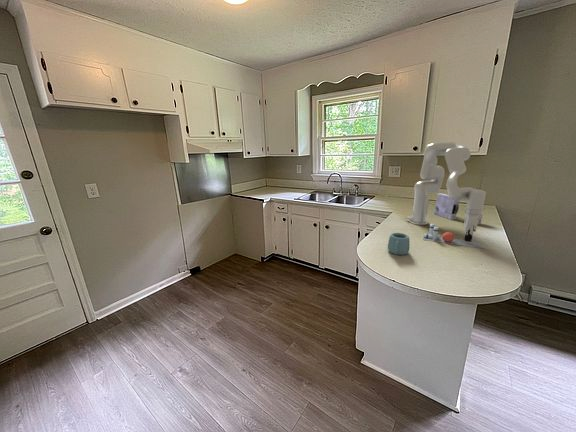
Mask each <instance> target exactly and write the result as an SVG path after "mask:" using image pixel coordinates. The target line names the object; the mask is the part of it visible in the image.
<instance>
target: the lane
mask: <svg viewBox="0 0 576 432" xmlns="http://www.w3.org/2000/svg"><path fill="white" fill-rule="evenodd" d="M422 240H424V241H429V242H435V243H436V242H437V243H443V244H451V245H457V246H463V247H469V248H475V249H477V248H478V249H484V246H483V243H482V242H481V241H474V240H472V241H471V242H467V241H465V240H464V239H459V238H454V240H453V241H451V242H446V241H444V240H443V238H442V236H440V239H437V241H433V240H432V239H431V238H424V236H423V238H422Z"/></svg>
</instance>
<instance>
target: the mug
mask: <svg viewBox="0 0 576 432" xmlns="http://www.w3.org/2000/svg"><path fill="white" fill-rule="evenodd" d="M387 250H388V251H389V252H390V253H391V254H394V255H396V256H397V255H398V256H404V255H407V254H409V253H410V252H409V251H410V237H409V235H407V234H405V233H401V232H394V233H393V232H392V233H391V234H390V235H389V237H388V242H387Z"/></svg>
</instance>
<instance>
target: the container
mask: <svg viewBox="0 0 576 432" xmlns="http://www.w3.org/2000/svg"><path fill="white" fill-rule="evenodd" d="M466 215H467V214H466V213H465V216H464V219H465V218H466ZM483 216H484V214H483V213H482V215H480V216H479V218H478V224H477V226H479V225H481V224H482V220H483ZM464 223H465V220H464ZM464 223H463V224H464Z"/></svg>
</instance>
